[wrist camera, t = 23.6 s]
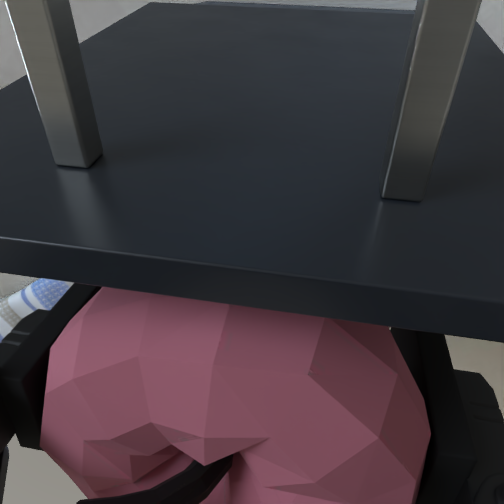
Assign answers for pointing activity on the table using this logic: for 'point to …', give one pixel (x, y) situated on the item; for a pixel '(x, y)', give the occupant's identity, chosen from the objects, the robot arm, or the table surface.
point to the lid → (263, 160)
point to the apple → (230, 406)
